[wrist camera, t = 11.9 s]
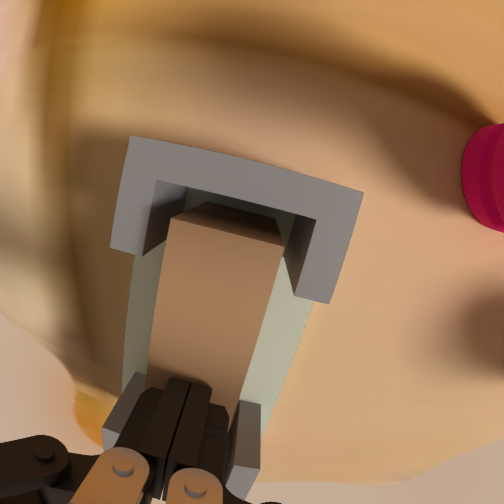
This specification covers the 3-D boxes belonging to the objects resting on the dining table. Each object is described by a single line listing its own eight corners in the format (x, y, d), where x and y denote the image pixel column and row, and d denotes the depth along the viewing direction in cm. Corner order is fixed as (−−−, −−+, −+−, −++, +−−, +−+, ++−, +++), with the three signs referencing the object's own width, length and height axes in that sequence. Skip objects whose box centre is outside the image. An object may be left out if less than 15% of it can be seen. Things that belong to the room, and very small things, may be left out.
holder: (162, 146, 15) (109, 132, 9) (341, 190, 15) (386, 200, 9) (125, 401, 19) (92, 463, 13) (258, 436, 19) (256, 507, 13)
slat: (206, 201, 15) (170, 218, 9) (275, 218, 15) (284, 247, 9) (167, 404, 17) (139, 478, 11) (219, 417, 17) (206, 496, 12)
